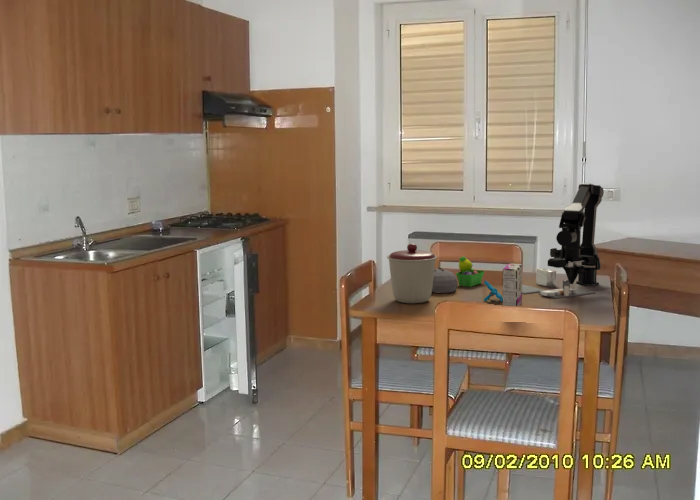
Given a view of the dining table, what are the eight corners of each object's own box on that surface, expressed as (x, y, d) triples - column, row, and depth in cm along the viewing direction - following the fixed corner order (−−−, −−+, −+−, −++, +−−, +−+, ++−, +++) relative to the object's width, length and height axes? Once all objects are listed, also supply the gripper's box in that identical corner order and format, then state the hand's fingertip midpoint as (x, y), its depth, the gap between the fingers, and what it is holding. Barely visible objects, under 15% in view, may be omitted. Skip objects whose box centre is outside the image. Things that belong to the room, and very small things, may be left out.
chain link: (542, 282, 296) (542, 268, 295) (557, 286, 288) (558, 271, 287) (534, 283, 295) (534, 268, 294) (549, 287, 286) (550, 272, 285)
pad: (523, 285, 290) (523, 284, 290) (545, 291, 278) (545, 290, 278) (503, 288, 286) (503, 286, 286) (524, 294, 274) (524, 292, 274)
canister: (397, 307, 254) (397, 248, 251) (380, 297, 271) (380, 241, 268) (445, 304, 259) (445, 245, 256) (425, 294, 276) (425, 239, 273)
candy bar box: (507, 310, 247) (507, 263, 244) (522, 311, 245) (523, 263, 243) (501, 318, 236) (502, 268, 234) (516, 319, 235) (517, 269, 232)
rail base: (578, 289, 281) (578, 279, 280) (595, 293, 273) (596, 283, 272) (538, 294, 273) (539, 283, 272) (555, 298, 265) (555, 287, 264)
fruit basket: (472, 287, 288) (472, 259, 286) (452, 285, 293) (452, 257, 291) (485, 283, 297) (485, 256, 295) (465, 281, 302) (466, 254, 300)
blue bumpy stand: (505, 300, 255) (485, 279, 257) (492, 312, 256) (473, 291, 258) (507, 298, 266) (488, 278, 268) (495, 309, 267) (476, 289, 269)
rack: (567, 290, 275) (567, 279, 275) (577, 293, 271) (577, 281, 270) (540, 294, 270) (540, 282, 269) (549, 296, 265) (549, 284, 265)
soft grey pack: (412, 285, 294) (426, 295, 275) (412, 265, 293) (426, 273, 273) (448, 284, 297) (464, 293, 277) (448, 264, 295) (464, 272, 276)
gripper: (576, 238, 283) (575, 278, 285) (538, 242, 275) (537, 282, 277) (597, 242, 273) (596, 283, 275) (558, 245, 265) (557, 287, 267)
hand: (571, 283), depth 274 cm, fingers closed
